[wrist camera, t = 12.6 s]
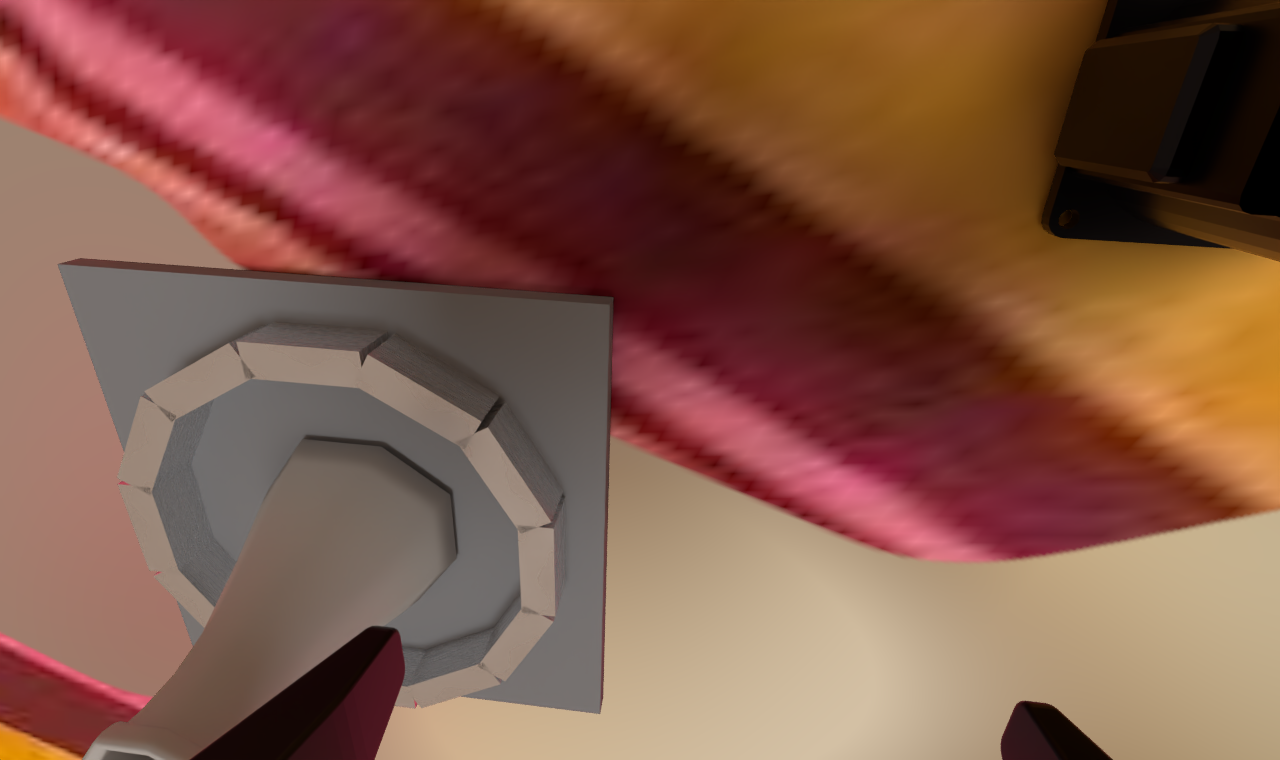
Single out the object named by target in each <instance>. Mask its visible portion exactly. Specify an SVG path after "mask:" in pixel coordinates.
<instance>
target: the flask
mask: <svg viewBox="0 0 1280 760" xmlns="http://www.w3.org/2000/svg"><path fill="white" fill-rule="evenodd" d="M456 559H457V557H456V548H455V538H454V528H453V518H452V508H451V498H450V494H449V493H447V492H446V491H444V490H443V489H441V488H440V487H439V486H437V485H436V484H434V483H433V482H431V481H430V480H428V479H427V478H426V477H424V476H423V475H421V474H420V473H418V472H417V471H416V470H414V469H413V468H411V467H410V466H408V465H407V464H406V463H404V462H403V461H401V460H400V459H398V458H397V457H395V456H394V455H393V454H391V453H390V452H388V451H387V450H385V449H384V448H383V447H380V446H370V445H359V444H349V443H338V442H328V441H317V440H306V439H302V440H301V441H300V443H299V444H298V446H297V447H296V449H295V450H294V452H293V453H292V455H291V456H290V458H289V459H288V461H287V462H286V464H285V465H284V467H283V468H282V470H281V471H280V473H279V474H278V476H277V477H276V479H275V480H274V482H273V484H272V485H271V487H270V488H269V490H268V492H267V494H266V496H265V498H264V500H263V502H262V504H261V506H260V509H259V511H258V513H257V516H256V518H255V520H254V523H253V525H252V527H251V530H250V532H249V534H248V537H247V539H246V541H245V544H244V546H243V548H242V551H241V553H240V555H239V558H238V560H237V562H236V564H235V566H234V568H233V571H232V573H231V575H230V577H229V579H228V581H227V583H226V585H225V587H224V589H223V591H222V593H221V595H220V597H219V600H218V602H217V604H216V606H215V608H214V610H213V612H212V614H211V616H210V618H209V620H208V622H207V624H206V626H205V629H204V631H203V633H202V634H201V636H200V637H199V639H198V640H197V642H196V643H195V645H194V646H193V648H192V649H191V651H190V652H189V654H188V655H187V656H186V658H185V659H184V661H183V662H182V664H181V665H180V666H179V668H178V670H177V671H176V672H175V674H174V675H173V676H172V677H171V678H170V679H169V680H168V681H167V683H166V684H165V685H164V686H163V687H162V688H161V689H160V690H159V691H158V692H157V694H156V695H155V696H154V697H153V698H152V699H151V700H150V701H149V702H148V703H147V705H146V706H145V707H144V708H143V709H142V710H141V711H140V712H139V713H138V714H137V715H135V716H134V717H133V718H132V719H131V720H130V721H129V722H128V723H127V722H117V723H114V724H113V725H111V726H110V727H108V728H107V729H106V730H104V731H103V732H102V733H101V734H100V735H99V736H98V737H97V739H96V740H95V741H94V742H93V744H92V745H91V747H90V748H89V750H88V751H87V753H86V754H85V756H84V757H83V759H82V760H189V759H191V758H192V757H193V756H195V755H196V754H198V753H199V752H200V751H202V750H203V749H204V748H206V747H207V746H208V745H210V744H211V743H212V742H214V741H215V740H216V739H218V738H219V737H220V736H222V735H223V734H224V733H226V732H227V731H229V730H230V729H231V728H233V727H234V726H235V725H237V724H238V723H239V722H241V721H242V720H243V719H245V718H246V717H247V716H249V715H250V714H251V713H253V712H254V711H255V710H257V709H258V708H260V707H261V706H262V705H264V704H265V703H266V702H268V701H269V700H270V699H272V698H273V697H274V696H276V695H277V694H278V693H280V692H281V691H282V690H284V689H285V688H287V687H288V686H289V685H291V684H292V683H293V682H295V681H296V680H297V679H299V678H300V677H301V676H303V675H304V674H305V673H307V672H308V671H309V670H311V669H312V668H313V667H315V666H316V665H318V664H319V663H320V662H322V661H323V660H324V659H326V658H327V657H328V656H330V655H331V654H332V653H334V652H335V651H336V650H338V649H339V648H340V647H342V646H343V645H344V644H346V643H347V642H349V641H350V640H351V639H353V638H354V637H355V636H357V635H358V634H359V633H361V632H362V631H363V630H365V629H366V628H368V627H370V626H385V625H386V624H387V623H389V622H390V621H392V620H393V619H394V618H396V617H397V616H399V615H400V614H401V613H403V612H404V611H405V610H407V609H408V608H409V607H410V606H412V605H413V604H414V603H415V602H417V601H418V600H419V599H420V598H421V597H422V596H423V595H424V594H425V592H426V591H427V590H428V589H429V588H430V587H431V586H432V585H433V584H434V583H435V582H436V580H437V579H438V578H439V577H440V576H441V575H442V574H443V573H444V572H445V571H446V570H447V568H448V567H449V566H450V565H451V564H452V563H453V562H454V561H455V560H456Z"/></svg>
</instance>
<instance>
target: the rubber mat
mask: <svg viewBox="0 0 1280 760" xmlns="http://www.w3.org/2000/svg"><path fill="white" fill-rule="evenodd" d="M58 267H59V270H60V273H61V275H62V278H63V281H64V284H65V287H66V290H67V292H68V295H69V298H70V301H71V304H72V307H73V309H74V312H75V315H76V318H77V321H78V323H79V326H80V329H81V332H82V335H83V338H84V340H85V343H86V346H87V349H88V352H89V354H90V357H91V360H92V363H93V365H94V369H95V371H96V374H97V377H98V380H99V383H100V385H101V388H102V391H103V394H104V397H105V400H106V402H107V405H108V408H109V411H110V414H111V417H112V419H113V422H114V425H115V428H116V431H117V433H118V436H119V439H120V442H121V445H122V447H123V450H124V452H125V448H126V445H127V441H128V438H129V434H130V431H131V427H132V424H133V420H134V417H135V413H136V410H137V407H138V403H139V400H140V396H142V395H143V394H145V391H146V390H147V389H149V388H151V387H153V386H154V385H156V384H158V383H160V382H161V381H163V380H165V379H167V378H168V377H170V376H172V375H174V374H175V373H177V372H179V371H181V370H182V369H184V368H186V367H188V366H189V365H191V364H193V363H195V362H196V361H198V360H200V359H202V358H203V357H205V356H207V355H209V354H210V353H212V352H214V351H216V350H217V349H219V348H221V347H223V346H224V345H226V344H228V343H230V342H232V341H234V340H236V339H238V338H240V337H242V336H244V335H246V334H248V333H250V332H252V331H253V330H255V329H257V328H259V327H261V326H263V325H265V324H267V323H268V324H269V325H270V324H272V323H274V322H284V323H297V324H310V325H322V326H335V327H347V328H360V329H373V330H385V331H388V334H389V338H391V337H392V336H393V335H395V334H398V335H400V336H401V337H403V338H405V339H406V340H408V341H410V342H411V343H413V344H415V345H416V346H418V347H420V348H421V349H423V350H425V351H426V352H428V353H430V354H431V355H433V356H435V357H436V358H438V359H440V360H441V361H443V362H445V363H446V364H448V365H450V366H451V367H453V368H455V369H456V370H458V371H460V372H461V373H463V374H465V375H466V376H468V377H470V378H471V379H473V380H475V381H477V382H478V383H480V384H482V385H483V386H485V387H487V388H488V389H490V390H492V391H493V392H495V393H497V394H498V395H500V396H499V398H498V400H497V401H496V403H495V405H494V406H496V405H498V404H500V403H503V402H505V401H506V402H507V404H508V405H509V407H510V408H511V410H512V411H513V413H514V415H515V416H516V418H517V419H518V421H519V422H520V424H521V425H522V427H523V428H524V430H525V432H526V433H527V435H528V436H529V438H530V439H531V441H532V442H533V444H534V445H535V447H536V448H537V450H538V452H539V453H540V455H541V456H542V458H543V459H544V461H545V462H546V464H547V465H548V467H549V468H550V470H551V472H552V473H553V475H554V476H555V478H556V479H557V481H558V482H559V484H560V485H561V487H562V489H563V493H562V496H566V583H565V586H564V589H563V593H562V596H561V599H560V603H559V606H558V609H557V613H556V616H555V619H554V622H553V623H552V624H551V626H550V627H549V628H548V629H547V630H546V632H545V633H544V634H543V635H542V637H541V638H540V639H539V640H538V642H537V643H536V644H535V645H534V646H533V648H532V649H531V650H530V651H529V653H528V654H527V655H526V656H525V658H524V659H523V660H522V661H521V662H520V664H519V665H518V666H517V667H516V669H515V670H514V671H513V672H512V674H511V675H510V676H509V677H508V678H507V680H506V681H503V680H502V682H501V684H500V685H496V686H493V687H490V688H487V689H483V690H480V691H477V692H473V693H470V694H467V695H463V696H461V697H469V698H477V699H485V700H493V701H501V702H509V703H517V704H525V705H533V706H541V707H549V708H557V709H565V710H573V711H581V712H589V713H598V714H600V712H601V705H602V700H603V681H604V679H603V678H604V642H605V603H606V566H607V528H608V526H607V525H608V524H607V523H608V488H609V451H610V413H611V374H612V336H613V298H614V297H605V296H591V295H577V294H563V293H550V292H536V291H522V290H508V289H495V288H481V287H467V286H453V285H440V284H426V283H412V282H398V281H385V280H371V279H357V278H343V277H330V276H316V275H302V274H288V273H275V272H261V271H247V270H233V269H219V268H205V267H192V266H178V265H165V264H150V263H137V262H123V261H110V260H96V259H82V258H80V259H76V260H72V261H68V262H64V263H60V264H58ZM494 406H493V407H494ZM302 439H306V440H317V441H328V442H338V443H349V444H359V445H370V446H380V447H383V448H384V449H385V450H387V451H388V452H390V453H391V454H393V455H394V456H395V457H397V458H398V459H400V460H401V461H403V462H404V463H406V464H407V465H408V466H410V467H411V468H413V469H414V470H416V471H417V472H418V473H420V474H421V475H423V476H424V477H426V478H427V479H428V480H430V481H431V482H433V483H434V484H436V485H437V486H439V487H440V488H441V489H443V490H444V491H446V492H447V493H449V494H450V498H451V508H452V518H453V528H454V538H455V548H456V557H457V559H456V560H455V561H454V562H453V563H452V564H451V565H450V566H449V567H448V568H447V570H446V571H445V572H444V573H443V574H442V575H441V576H440V577H439V578H438V579H437V580H436V582H435V583H434V584H433V585H432V586H431V587H430V588H429V589H428V590H427V591H426V592H425V594H424V595H423V596H422V597H421V598H420V599H419V600H418V601H417V602H415V603H414V604H413V605H412V606H410V607H409V608H408V609H407V610H405V611H404V612H403V613H401V614H400V615H399V616H397V617H396V618H394V619H393V620H392V621H390V622H389V623H387V624H386V625H385V627H394V628H396V629H397V630H398V631H399V632H400V636H401V642H402V646H404V647H413V648H421V649H429V648H432V647H435V646H438V645H441V644H444V643H447V642H450V641H453V640H456V639H459V638H462V637H465V636H468V635H471V634H474V633H477V632H480V631H483V630H486V629H489V628H492V627H495V625H496V624H497V623H498V621H499V620H500V619H501V617H502V616H503V615H504V613H505V612H506V611H507V609H508V608H509V607H510V605H511V604H512V603H513V601H514V600H515V599H516V597H517V596H518V595H519V593H520V592H521V588H520V568H519V547H518V529H517V528H516V527H515V525H514V524H513V522H512V521H511V519H510V518H509V517H508V515H507V514H506V512H505V511H504V509H503V508H502V507H501V505H500V504H499V502H498V501H497V499H496V498H495V497H494V495H493V494H492V492H491V491H490V489H489V488H488V486H487V485H486V484H485V482H484V481H483V479H482V478H481V476H480V475H479V474H478V472H477V471H476V469H475V468H474V466H473V465H472V464H471V462H470V461H469V459H468V458H467V456H466V455H465V454H464V452H463V451H462V449H461V448H460V446H458V445H456V444H455V443H453V442H451V441H449V440H448V439H446V438H444V437H442V436H441V435H439V434H437V433H436V432H434V431H432V430H430V429H429V428H427V427H425V426H423V425H422V424H420V423H418V422H417V421H415V420H413V419H411V418H410V417H408V416H406V415H404V414H403V413H401V412H399V411H398V410H396V409H394V408H392V407H391V406H389V405H387V404H385V403H384V402H382V401H380V400H379V399H377V398H375V397H373V396H372V395H370V394H368V393H366V392H365V391H363V390H361V389H360V388H352V387H340V386H329V385H317V384H306V383H294V382H283V381H271V380H260V379H250V380H248V381H246V382H244V383H242V384H240V385H239V386H237V387H235V388H233V389H231V390H229V391H228V392H226V393H224V394H222V395H220V396H218V397H216V398H215V399H214V402H213V405H212V408H211V410H210V413H209V416H208V419H207V422H206V425H205V427H204V430H203V433H202V436H201V439H200V441H199V444H198V447H197V450H196V453H195V456H194V458H193V461H192V467H193V470H194V473H195V477H196V480H197V483H198V486H199V490H200V493H201V496H202V500H203V503H204V506H205V509H206V513H207V516H208V519H209V523H210V526H211V529H212V532H213V536H214V539H215V540H216V541H217V542H218V543H219V544H220V545H221V546H222V547H223V548H224V549H225V551H226V552H227V553H228V554H229V555H230V556H231V557H232V558H233V559H234V560H235V562H237V560H238V558H239V555H240V553H241V551H242V548H243V546H244V544H245V541H246V539H247V537H248V534H249V532H250V530H251V527H252V525H253V523H254V520H255V518H256V516H257V513H258V511H259V509H260V506H261V504H262V502H263V500H264V498H265V496H266V494H267V492H268V490H269V488H270V487H271V485H272V484H273V482H274V480H275V479H276V477H277V476H278V474H279V473H280V471H281V470H282V468H283V467H284V465H285V464H286V462H287V461H288V459H289V458H290V456H291V455H292V453H293V452H294V450H295V449H296V447H297V446H298V444H299V443H300V441H301V440H302ZM177 603H178V605H179V608H180V611H181V614H182V617H183V619H184V622H185V625H186V627H187V631H188V634H189V636H190V639H191V642H192V645H193V646H194V645H195V643H196V642H197V640H198V639H199V637H200V636H201V634H202V633H203V631H204V629H205V628H204V627H203V626H202V625H201V624H200V623H199V622H198V621H197V620H196V619H195V618H194V617H193V616H192V615H191V614H190V613H189V612H188V611H187V610H186V609H185V608H184V607H183V606H182V605H181V604H180V603H179V602H178V601H177Z"/></svg>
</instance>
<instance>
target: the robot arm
mask: <svg viewBox="0 0 1280 760" xmlns="http://www.w3.org/2000/svg"><path fill="white" fill-rule="evenodd" d="M1054 155H1055V157H1056V159H1057V161H1058V166H1057V169H1056V172H1055V176H1054V179H1053V182H1052V185H1051V189H1050V192H1049V195H1048V198H1047V202H1046V205H1045V208H1044V211H1043V215H1042V222H1041V223H1042V226H1043V228H1044V230H1046V231H1047V232H1048V233H1049V234H1052V235H1054V236H1057V237H1061V238H1070V239H1086V240H1102V241H1119V242H1135V243H1151V244H1167V245H1183V246H1199V247H1216V248H1232V249H1237V250H1241V251H1244V252H1248V253H1251V254H1255V255H1258V256H1262V257H1265V258H1269V259H1272V260H1276V261H1279V262H1280V0H1109V1H1108V4H1107V7H1106V10H1105V14H1104V17H1103V20H1102V23H1101V26H1100V30H1099V33H1098V36H1097V39H1096V43H1094V44H1093V45H1092V46H1091V47H1090V48H1089V49H1087V50H1086V52H1085V54H1084V57H1083V61H1082V64H1081V67H1080V70H1079V74H1078V77H1077V80H1076V84H1075V87H1074V90H1073V94H1072V97H1071V100H1070V103H1069V107H1068V110H1067V113H1066V117H1065V120H1064V123H1063V126H1062V130H1061V133H1060V136H1059V140H1058V143H1057V146H1056V149H1055V153H1054ZM1066 210H1070V211H1071V212H1072V215H1071V219H1070V220H1069V222H1068V223H1066V224H1065V225H1063V226H1060V225H1059V218H1060V216H1061V214H1062V213H1064V212H1065V211H1066ZM404 676H405V661H404V655H403V648H402V642H401V636H400V632H399V631H398V630H397V629H396V628H394V627H385V626H370V627H368V628H366V629H365V630H363V631H362V632H361V633H359V634H358V635H357V636H355V637H354V638H353V639H351V640H350V641H349V642H347V643H346V644H344V645H343V646H342V647H340V648H339V649H338V650H336V651H335V652H334V653H332V654H331V655H330V656H328V657H327V658H326V659H324V660H323V661H322V662H320V663H319V664H318V665H316V666H315V667H313V668H312V669H311V670H309V671H308V672H307V673H305V674H304V675H303V676H301V677H300V678H299V679H297V680H296V681H295V682H293V683H292V684H291V685H289V686H288V687H287V688H285V689H284V690H282V691H281V692H280V693H278V694H277V695H276V696H274V697H273V698H272V699H270V700H269V701H268V702H266V703H265V704H264V705H262V706H261V707H260V708H258V709H257V710H255V711H254V712H253V713H251V714H250V715H249V716H247V717H246V718H245V719H243V720H242V721H241V722H239V723H238V724H237V725H235V726H234V727H233V728H231V729H230V730H229V731H227V732H226V733H224V734H223V735H222V736H220V737H219V738H218V739H216V740H215V741H214V742H212V743H211V744H210V745H208V746H207V747H206V748H204V749H203V750H202V751H200V752H199V753H198V754H196V755H195V756H193V757H192V758H191V759H189V760H375V757H376V754H377V751H378V749H379V746H380V743H381V741H382V737H383V735H384V732H385V730H386V727H387V724H388V721H389V719H390V716H391V713H392V710H393V708H394V705H395V703H396V700H397V697H398V694H399V692H400V689H401V686H402V683H403V680H404ZM1001 754H1002V759H1003V760H1113V759H1112V758H1110V757H1109V756H1108V755H1107V754H1106V753H1105V752H1104V751H1103V750H1102V749H1101V748H1100V747H1098V746H1097V745H1096V744H1095V743H1094V742H1093V741H1092V740H1091V739H1090V738H1089V737H1087V736H1086V735H1085V734H1084V733H1083V732H1082V731H1081V730H1080V729H1079V728H1078V727H1077V726H1075V725H1074V724H1073V723H1072V722H1071V721H1070V720H1069V719H1068V718H1067V717H1066V716H1064V715H1063V714H1062V713H1061V712H1060V711H1059V710H1058V709H1057V708H1055V707H1054V706H1052V705H1050V704H1046V703H1039V702H1031V701H1020V702H1019V703H1017V704H1016V706H1015V708H1014V710H1013V712H1012V715H1011V717H1010V720H1009V722H1008V724H1007V726H1006V729H1005V731H1004V734H1003V736H1002V739H1001Z"/></svg>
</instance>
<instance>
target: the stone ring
mask: <svg viewBox="0 0 1280 760" xmlns="http://www.w3.org/2000/svg"><path fill="white" fill-rule="evenodd" d="M250 379H260V380H271V381H283V382H294V383H306V384H317V385H329V386H340V387H352V388H360V389H361V390H363V391H365V392H366V393H368V394H370V395H372V396H373V397H375V398H377V399H379V400H380V401H382V402H384V403H385V404H387V405H389V406H391V407H392V408H394V409H396V410H398V411H399V412H401V413H403V414H404V415H406V416H408V417H410V418H411V419H413V420H415V421H417V422H418V423H420V424H422V425H423V426H425V427H427V428H429V429H430V430H432V431H434V432H436V433H437V434H439V435H441V436H442V437H444V438H446V439H448V440H449V441H451V442H453V443H455V444H456V445H458V446H460V448H461V449H462V451H463V452H464V454H465V455H466V456H467V458H468V459H469V461H470V462H471V464H472V465H473V466H474V468H475V469H476V471H477V472H478V474H479V475H480V476H481V478H482V479H483V481H484V482H485V484H486V485H487V486H488V488H489V489H490V491H491V492H492V494H493V495H494V497H495V498H496V499H497V501H498V502H499V504H500V505H501V507H502V508H503V509H504V511H505V512H506V514H507V515H508V517H509V518H510V519H511V521H512V522H513V524H514V525H515V527H516V528H517V529H518V547H519V568H520V588H521V592H520V593H519V595H518V596H517V597H516V599H515V600H514V601H513V603H512V604H511V605H510V607H509V608H508V609H507V611H506V612H505V613H504V615H503V616H502V617H501V619H500V620H499V621H498V623H497V624H496V625H495V627H492V628H489V629H486V630H483V631H480V632H477V633H474V634H471V635H468V636H465V637H462V638H459V639H456V640H453V641H450V642H447V643H444V644H441V645H438V646H435V647H432V648H429V649H421V648H413V647H404V646H402V648H403V655H404V661H405V676H404V680H403V683H402V686H401V689H400V692H399V694H398V697H397V700H396V703H395V705H394V706H400V707H407V708H416V706H417V704H418V705H419V706H420V707H421V708H424V707H427V706H430V705H433V704H436V703H440V702H443V701H447V700H450V699H453V698H457V697H460V696H463V695H467V694H470V693H473V692H477V691H480V690H483V689H487V688H490V687H493V686H496V685H500V684H501V682H502V680H503V681H506V680H507V678H508V677H509V676H510V675H511V674H512V672H513V671H514V670H515V669H516V667H517V666H518V665H519V664H520V662H521V661H522V660H523V659H524V658H525V656H526V655H527V654H528V653H529V651H530V650H531V649H532V648H533V646H534V645H535V644H536V643H537V642H538V640H539V639H540V638H541V637H542V635H543V634H544V633H545V632H546V630H547V629H548V628H549V627H550V626H551V624H552V623H553V622H554V619H555V616H556V613H557V609H558V606H559V603H560V599H561V596H562V593H563V589H564V586H565V583H566V496H562V493H563V489H562V487H561V485H560V484H559V482H558V481H557V479H556V478H555V476H554V475H553V473H552V472H551V470H550V468H549V467H548V465H547V464H546V462H545V461H544V459H543V458H542V456H541V455H540V453H539V452H538V450H537V448H536V447H535V445H534V444H533V442H532V441H531V439H530V438H529V436H528V435H527V433H526V432H525V430H524V428H523V427H522V425H521V424H520V422H519V421H518V419H517V418H516V416H515V415H514V413H513V411H512V410H511V408H510V407H509V405H508V404H507V402H506V401H505V402H503V403H500V404H498V405H496V406H494V405H495V403H496V401H497V400H498V398H499V396H500V395H498V394H497V393H495V392H493V391H492V390H490V389H488V388H487V387H485V386H483V385H482V384H480V383H478V382H477V381H475V380H473V379H471V378H470V377H468V376H466V375H465V374H463V373H461V372H460V371H458V370H456V369H455V368H453V367H451V366H450V365H448V364H446V363H445V362H443V361H441V360H440V359H438V358H436V357H435V356H433V355H431V354H430V353H428V352H426V351H425V350H423V349H421V348H420V347H418V346H416V345H415V344H413V343H411V342H410V341H408V340H406V339H405V338H403V337H401V336H400V335H398V334H395V335H393V336H392V337H391V338H389V334H388V331H385V330H373V329H360V328H347V327H335V326H322V325H310V324H297V323H284V322H274V323H272V324H270V325H269V324H268V323H267V324H265V325H263V326H261V327H259V328H257V329H255V330H253V331H252V332H250V333H248V334H246V335H244V336H242V337H240V338H238V339H236V340H234V341H232V342H230V343H228V344H226V345H224V346H223V347H221V348H219V349H217V350H216V351H214V352H212V353H210V354H209V355H207V356H205V357H203V358H202V359H200V360H198V361H196V362H195V363H193V364H191V365H189V366H188V367H186V368H184V369H182V370H181V371H179V372H177V373H175V374H174V375H172V376H170V377H168V378H167V379H165V380H163V381H161V382H160V383H158V384H156V385H154V386H153V387H151V388H149V389H147V390H146V391H145V394H143V395H142V396H140V400H139V403H138V407H137V410H136V413H135V417H134V420H133V424H132V427H131V431H130V434H129V438H128V441H127V445H126V448H125V452H124V455H123V459H122V462H121V466H120V469H119V473H118V476H117V478H118V479H120V480H122V481H121V482H120V483H118V487H119V490H120V492H121V495H122V498H123V500H124V503H125V506H126V509H127V511H128V514H129V517H130V520H131V522H132V525H133V528H134V530H135V533H136V536H137V539H138V541H139V544H140V547H141V549H142V552H143V555H144V557H145V560H146V563H147V566H148V568H149V570H150V571H158V572H157V573H156V574H155V575H154V577H155V579H156V580H157V581H158V582H159V583H160V584H161V585H162V586H163V587H164V588H165V589H166V590H167V591H168V592H169V593H170V594H171V595H172V596H173V597H174V598H175V599H176V600H177V601H178V602H179V603H180V604H181V605H182V606H183V607H184V608H185V609H186V610H187V611H188V612H189V613H190V614H191V615H192V616H193V617H194V618H195V619H196V620H197V621H198V622H199V623H200V624H201V625H202V626H203V627H204V628H205V626H206V624H207V622H208V620H209V618H210V616H211V614H212V612H213V610H214V608H215V606H216V604H217V602H218V600H219V597H220V595H221V593H222V591H223V589H224V587H225V585H226V583H227V581H228V579H229V577H230V575H231V573H232V571H233V568H234V566H235V564H236V562H235V560H234V559H233V558H232V557H231V556H230V555H229V554H228V553H227V552H226V551H225V549H224V548H223V547H222V546H221V545H220V544H219V543H218V542H217V541H216V540H215V539H214V536H213V532H212V529H211V526H210V523H209V519H208V516H207V513H206V509H205V506H204V503H203V500H202V496H201V493H200V490H199V486H198V483H197V480H196V477H195V473H194V470H193V467H192V461H193V458H194V456H195V453H196V450H197V447H198V444H199V441H200V439H201V436H202V433H203V430H204V427H205V425H206V422H207V419H208V416H209V413H210V410H211V408H212V405H213V402H214V399H215V398H216V397H218V396H220V395H222V394H224V393H226V392H228V391H229V390H231V389H233V388H235V387H237V386H239V385H240V384H242V383H244V382H246V381H248V380H250ZM493 406H494V407H493Z"/></svg>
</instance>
